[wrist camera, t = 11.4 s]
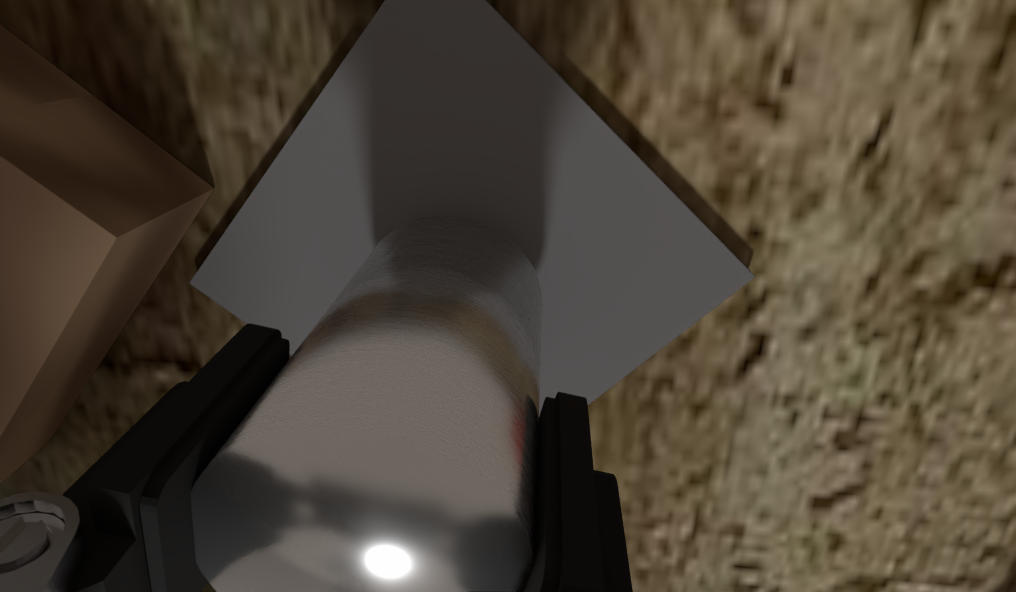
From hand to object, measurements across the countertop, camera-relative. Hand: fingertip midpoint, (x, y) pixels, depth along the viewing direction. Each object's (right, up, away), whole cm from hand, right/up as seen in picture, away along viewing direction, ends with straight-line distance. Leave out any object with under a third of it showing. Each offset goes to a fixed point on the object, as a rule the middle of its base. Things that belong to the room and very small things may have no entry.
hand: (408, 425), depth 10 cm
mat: (+1, +3, +6) cm, 7 cm away
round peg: (0, +2, +4) cm, 5 cm away
